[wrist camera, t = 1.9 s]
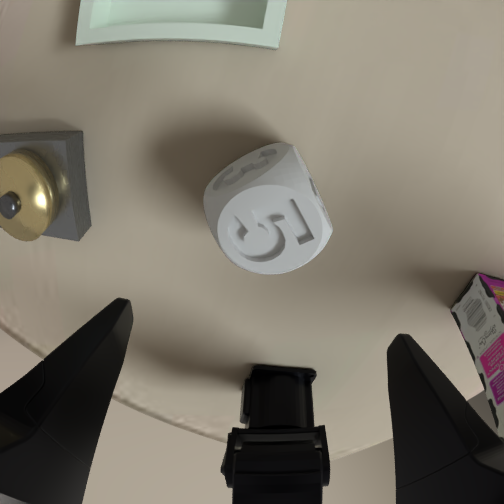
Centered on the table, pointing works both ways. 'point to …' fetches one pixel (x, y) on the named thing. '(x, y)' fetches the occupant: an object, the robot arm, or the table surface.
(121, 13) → the tray
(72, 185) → the call bell
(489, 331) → the candy bar box
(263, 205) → the die
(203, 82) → the table surface
